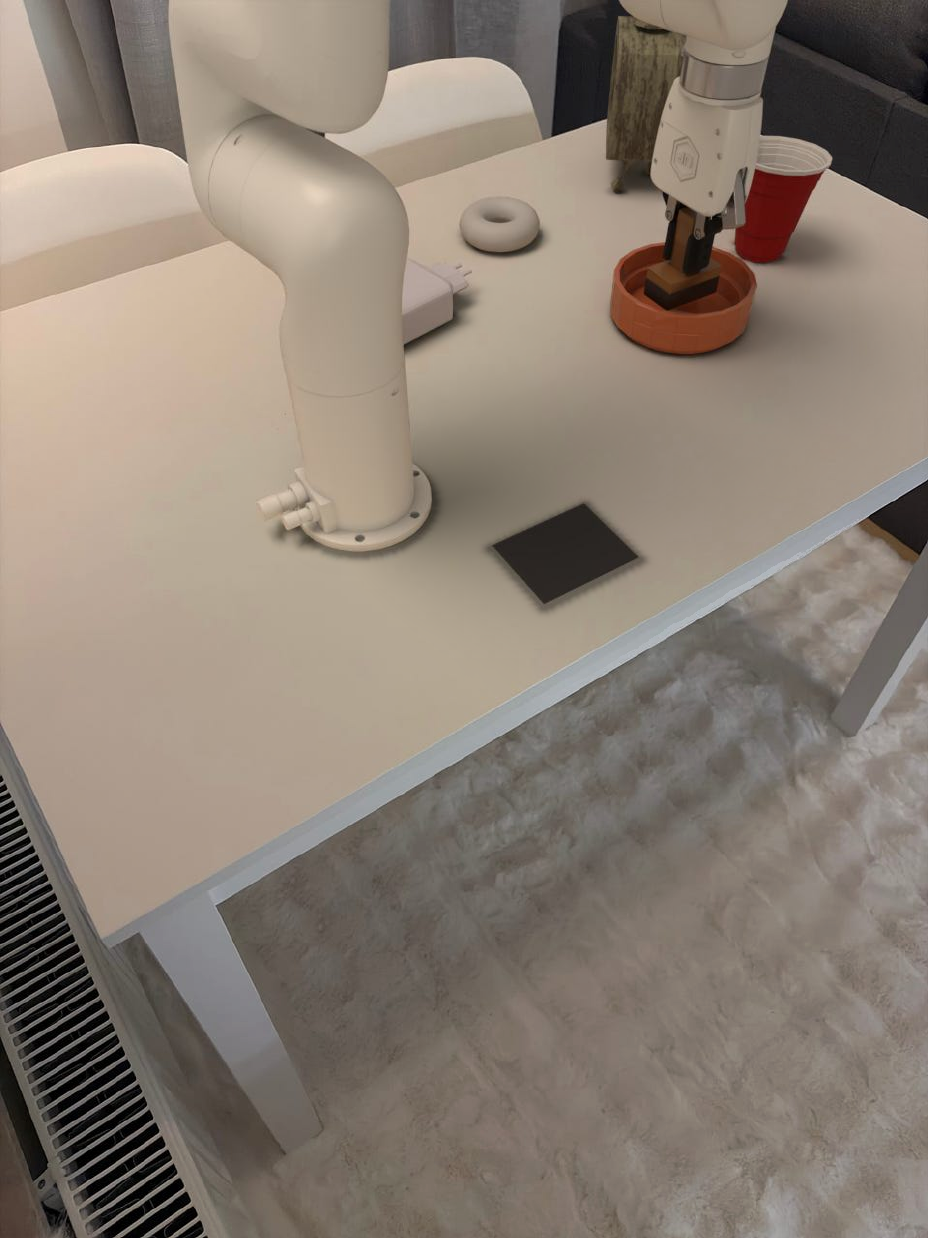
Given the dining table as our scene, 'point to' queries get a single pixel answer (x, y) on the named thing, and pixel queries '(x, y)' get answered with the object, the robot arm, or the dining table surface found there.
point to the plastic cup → (778, 195)
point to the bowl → (687, 324)
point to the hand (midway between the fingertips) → (685, 261)
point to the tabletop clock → (639, 90)
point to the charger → (429, 296)
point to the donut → (499, 224)
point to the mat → (564, 552)
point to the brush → (681, 271)
